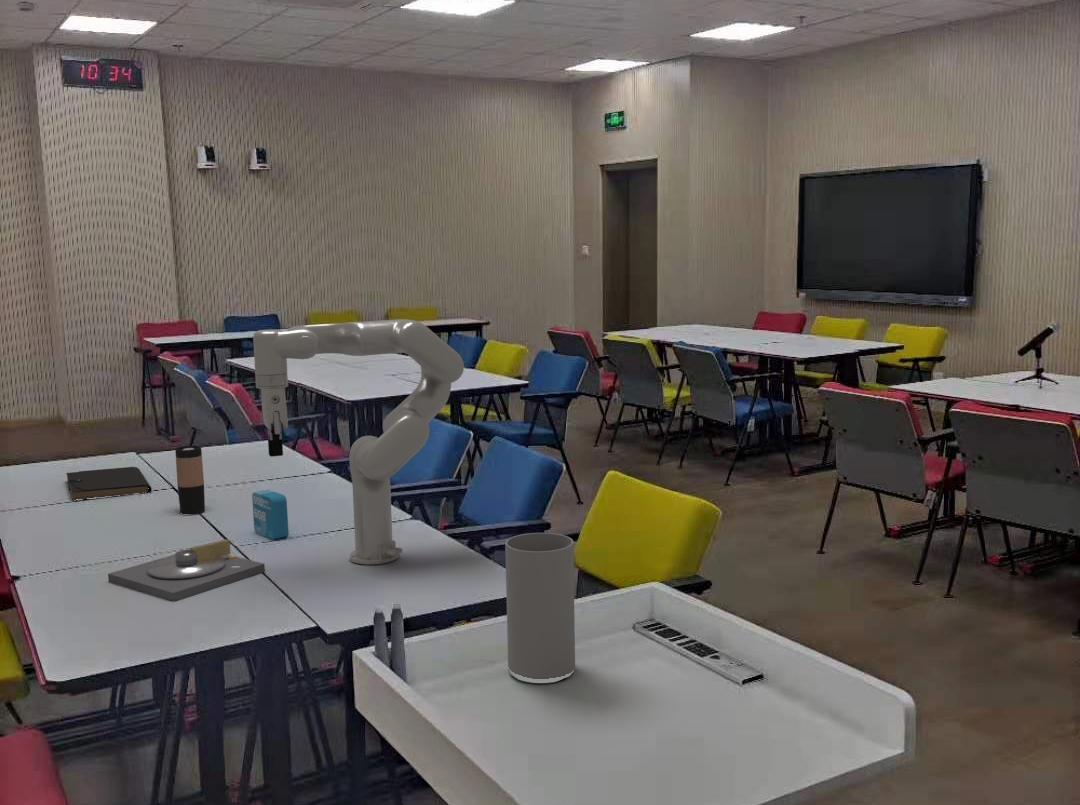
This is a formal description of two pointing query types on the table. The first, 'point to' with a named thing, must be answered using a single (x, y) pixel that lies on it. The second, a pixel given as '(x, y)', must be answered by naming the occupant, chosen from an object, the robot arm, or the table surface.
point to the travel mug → (190, 479)
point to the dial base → (185, 587)
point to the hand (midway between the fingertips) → (275, 455)
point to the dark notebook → (107, 482)
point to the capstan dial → (192, 562)
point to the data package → (270, 514)
